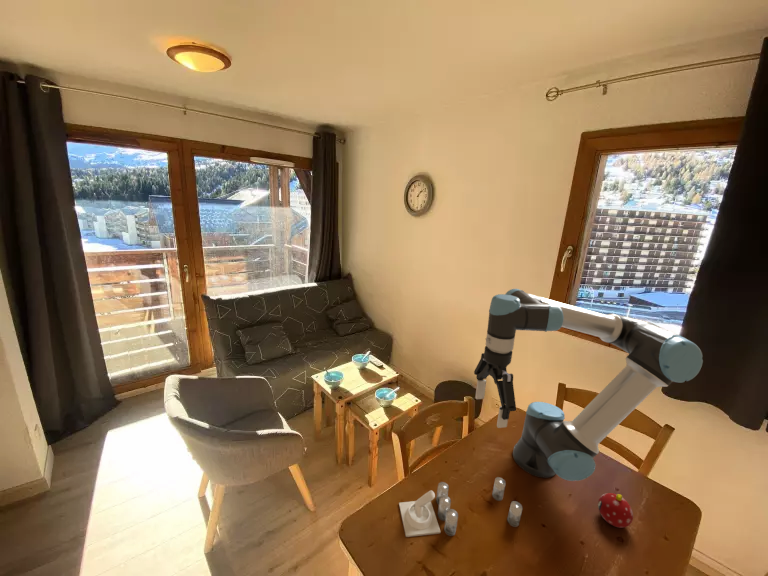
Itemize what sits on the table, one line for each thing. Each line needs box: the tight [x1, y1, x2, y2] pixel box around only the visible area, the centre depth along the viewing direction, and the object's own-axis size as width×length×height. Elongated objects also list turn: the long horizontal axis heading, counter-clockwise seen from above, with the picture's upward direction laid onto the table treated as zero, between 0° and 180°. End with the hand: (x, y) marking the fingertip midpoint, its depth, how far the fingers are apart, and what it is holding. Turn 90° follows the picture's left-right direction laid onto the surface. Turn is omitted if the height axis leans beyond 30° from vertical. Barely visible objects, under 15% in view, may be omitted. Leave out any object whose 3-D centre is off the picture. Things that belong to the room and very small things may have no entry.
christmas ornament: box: [597, 492, 634, 529], centre depth 95 cm, size 9×9×10 cm
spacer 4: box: [491, 476, 507, 502], centre depth 102 cm, size 3×3×6 cm
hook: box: [406, 490, 436, 529], centre depth 92 cm, size 8×12×7 cm
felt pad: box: [398, 500, 441, 538], centre depth 94 cm, size 10×10×1 cm
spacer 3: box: [444, 508, 459, 537], centre depth 90 cm, size 3×3×6 cm
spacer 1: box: [435, 481, 449, 506], centre depth 99 cm, size 3×3×6 cm
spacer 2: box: [437, 495, 452, 522], centre depth 94 cm, size 3×3×6 cm
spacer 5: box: [506, 500, 523, 528], centre depth 94 cm, size 3×3×6 cm
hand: (489, 411), depth 97 cm, fingers open, 13 cm apart
